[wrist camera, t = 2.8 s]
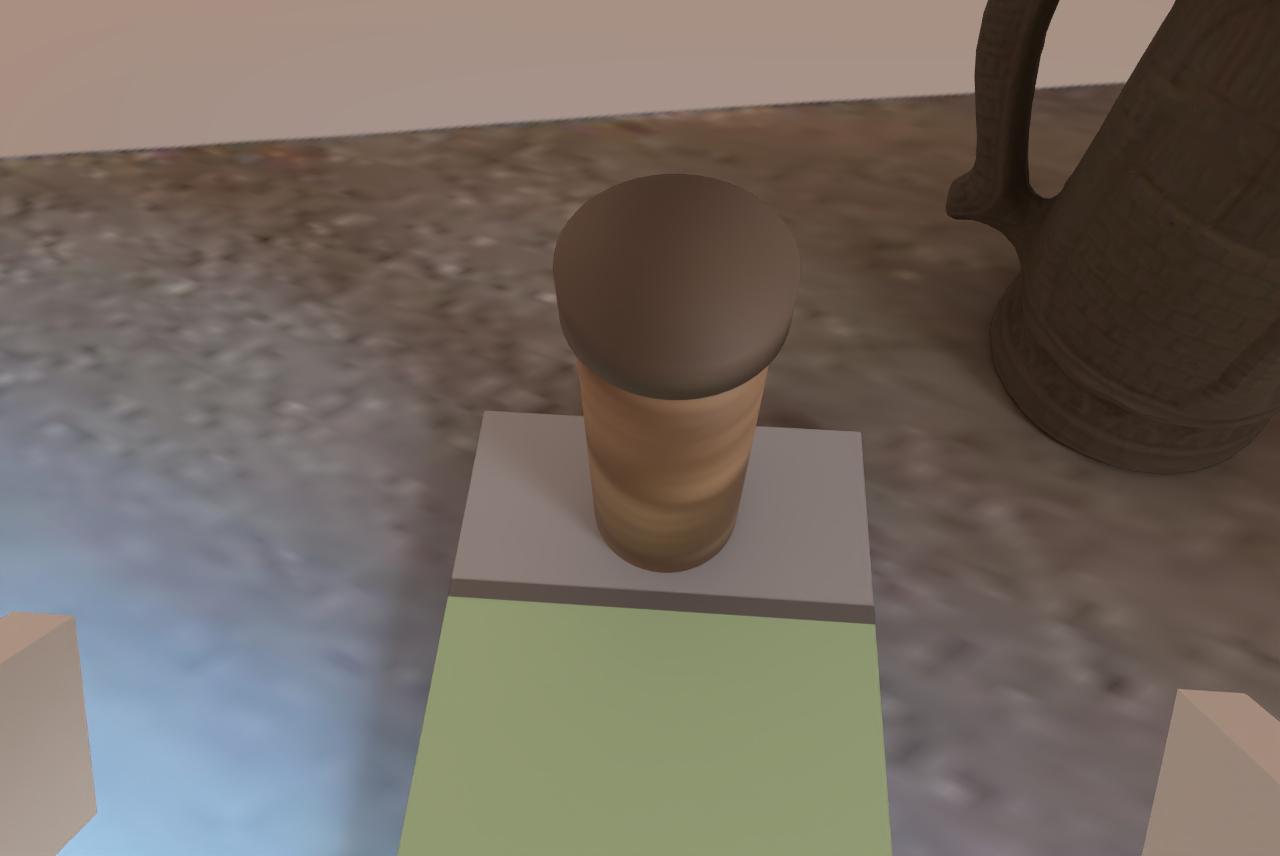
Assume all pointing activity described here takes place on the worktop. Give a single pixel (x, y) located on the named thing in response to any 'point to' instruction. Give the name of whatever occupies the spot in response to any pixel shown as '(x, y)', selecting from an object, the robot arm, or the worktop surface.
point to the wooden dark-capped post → (673, 354)
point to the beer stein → (1141, 240)
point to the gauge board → (654, 668)
